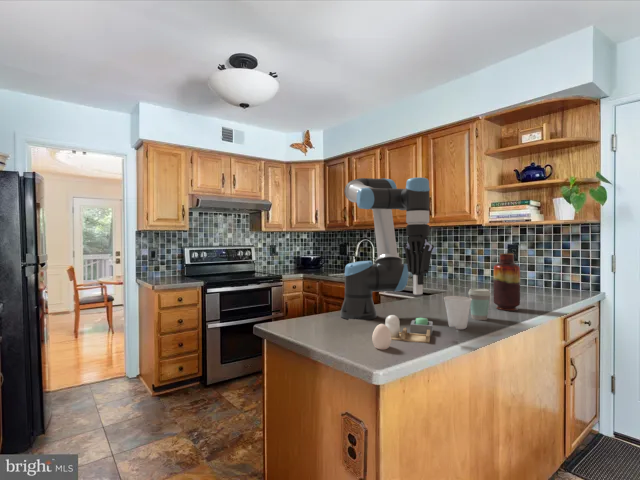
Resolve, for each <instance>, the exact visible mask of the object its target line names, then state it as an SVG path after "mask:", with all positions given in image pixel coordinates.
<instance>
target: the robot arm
mask: <svg viewBox="0 0 640 480" xmlns="http://www.w3.org/2000/svg"><path fill="white" fill-rule="evenodd" d="M405 183H406V185H405V188H398V186H397V184H396V183H395V181H394V180H393V179H390V178H385V177H384V178H383V177H382V178H371V177H369V178H364V177H360V178H356V179H353V180H350V181H349V182H347V184H346V185H345V187H344V191H343V192H344V196H345V198H346V199H347V200H348V201H350V202H351V203H356V206H357V208H358V209H362V210H372V215H373V216H372V217H373V223H374V224H373V225H374V233H375V235H374V236H375V244H376V250H377V251H376V253H377V254H376V255H377V258H376V259H375V260H374V262H373V261H372V260H361V261H360V260H359V261H355V262H349V263H347V264H346V265H345V267H344V300H343V302H342V305H341V309H340V318H342V319H346V320H358V321H359V320H361V321H370V320H374V319H376V318H377V317H378V316H377V313H378V312H377V309H376V306H375V304H374V300H373V293H374V292H392V293H394V292H402V291H404V289H405V288H406V287H407V284H408V281H409V273H411V275H412V288H413V291H412V293H413V295H424V294H423V291H424V289H423V285H424V275H425V274H428V273H429V269H430V266H431V265H430V263H431V259H432V252H433V249H434V248H435V246H434V245H433V244H430V243H429V239H428V236H430V225H429V223H430V191H431V189H430V181H429V179H428V178H426V177H411V178H409V179H406V182H405ZM392 210H399V211H406V212H405V213H406V214H405V216H406V219H405V223H407V224H406V228H405V229H406V236H408V239H407V243H406V244H403V245H402V247H403V249H404V252H405V253H404V254H405V258H406V260H405V261H406V263H403V259H402V257H400V256H399V255H398V249H397V242H396V241H397V240H396V234H395V226H394V225H395V224H394V216H393V211H392Z"/></svg>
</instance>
